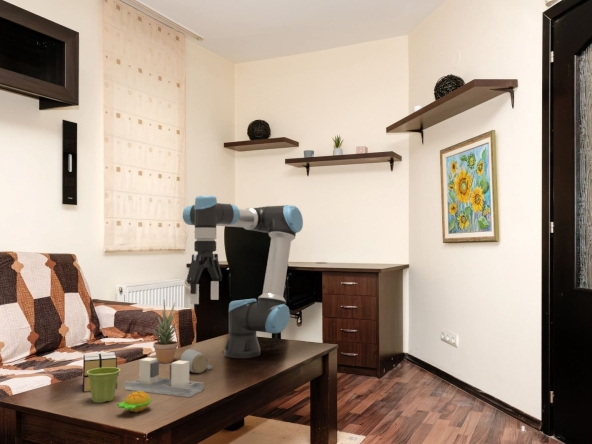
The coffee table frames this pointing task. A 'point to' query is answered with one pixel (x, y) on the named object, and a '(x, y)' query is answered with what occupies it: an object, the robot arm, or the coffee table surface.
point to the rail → (165, 387)
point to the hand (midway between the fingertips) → (204, 301)
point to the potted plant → (165, 339)
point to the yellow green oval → (136, 401)
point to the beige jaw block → (179, 373)
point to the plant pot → (103, 383)
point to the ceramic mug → (195, 361)
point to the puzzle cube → (96, 365)
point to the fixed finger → (148, 370)
